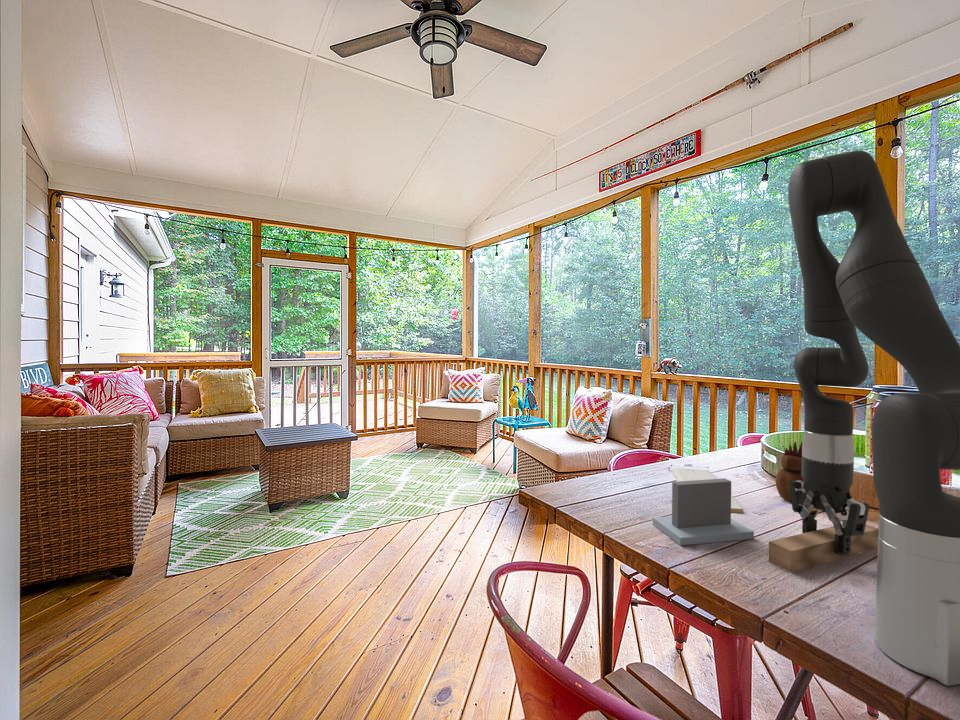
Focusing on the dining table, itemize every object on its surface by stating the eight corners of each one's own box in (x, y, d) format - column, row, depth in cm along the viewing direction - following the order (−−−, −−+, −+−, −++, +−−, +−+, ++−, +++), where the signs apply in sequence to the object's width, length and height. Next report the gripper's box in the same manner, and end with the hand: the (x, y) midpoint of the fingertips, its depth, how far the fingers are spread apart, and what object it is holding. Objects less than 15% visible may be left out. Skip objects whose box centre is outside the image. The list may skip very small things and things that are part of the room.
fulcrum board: (753, 538, 90) (754, 487, 89) (680, 545, 87) (680, 492, 87) (719, 518, 99) (720, 472, 99) (652, 524, 97) (653, 476, 97)
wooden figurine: (814, 503, 108) (816, 441, 107) (798, 506, 106) (799, 443, 105) (786, 494, 114) (787, 436, 114) (770, 497, 112) (771, 438, 112)
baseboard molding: (686, 511, 106) (742, 515, 103) (686, 499, 106) (743, 503, 103) (665, 472, 136) (708, 475, 133) (665, 463, 136) (708, 465, 133)
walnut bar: (854, 540, 89) (855, 521, 89) (878, 549, 85) (879, 528, 85) (768, 563, 81) (768, 541, 80) (790, 574, 77) (791, 551, 77)
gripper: (885, 466, 76) (882, 563, 76) (810, 445, 90) (808, 528, 91) (847, 468, 74) (844, 567, 75) (777, 447, 89) (775, 531, 89)
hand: (824, 545), depth 83 cm, fingers open, 5 cm apart
